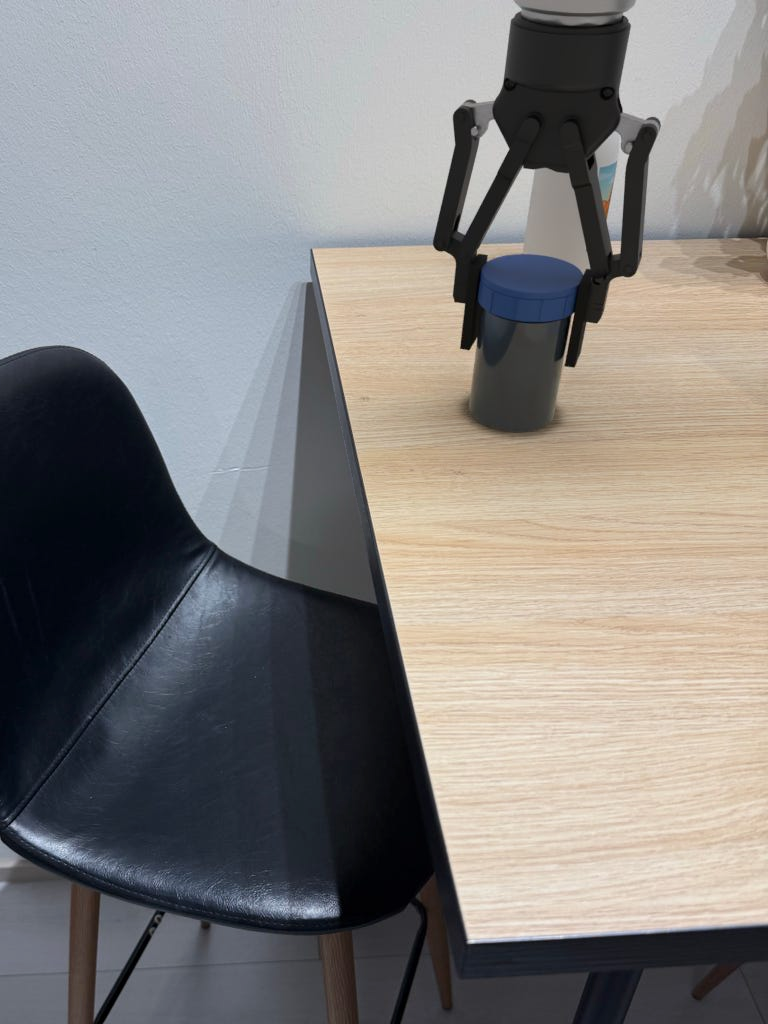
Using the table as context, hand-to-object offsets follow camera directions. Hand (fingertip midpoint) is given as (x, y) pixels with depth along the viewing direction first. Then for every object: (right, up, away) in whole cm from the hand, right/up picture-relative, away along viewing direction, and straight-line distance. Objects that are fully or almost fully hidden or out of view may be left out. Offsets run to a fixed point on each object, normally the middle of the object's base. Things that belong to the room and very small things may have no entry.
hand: (520, 350), depth 81 cm
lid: (0, +4, -4) cm, 6 cm away
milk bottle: (+10, +16, +27) cm, 33 cm away
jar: (0, -4, +3) cm, 5 cm away
